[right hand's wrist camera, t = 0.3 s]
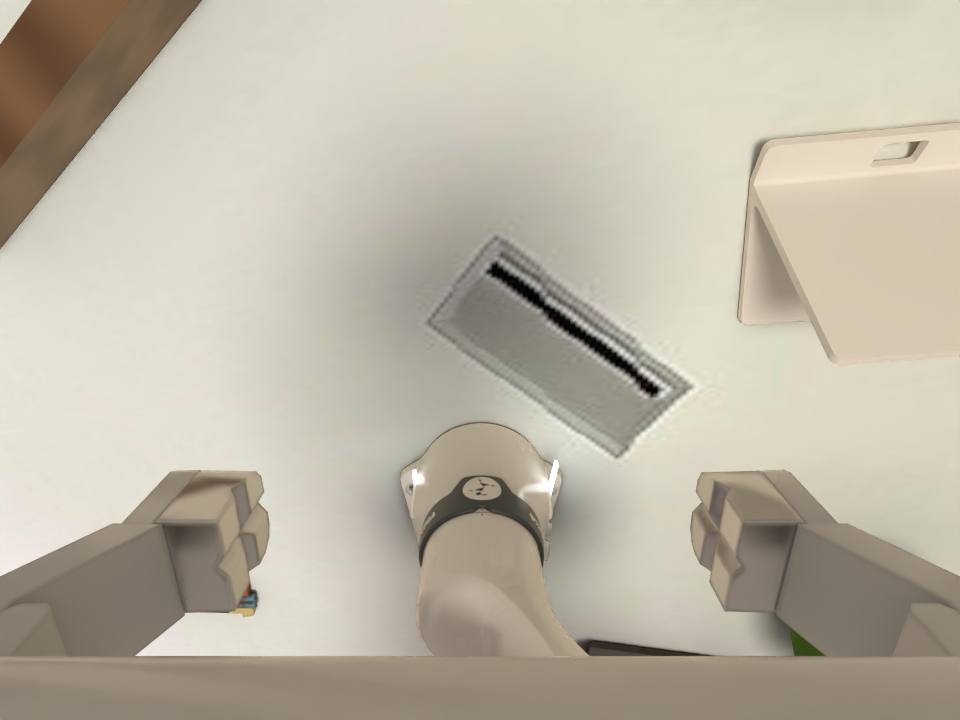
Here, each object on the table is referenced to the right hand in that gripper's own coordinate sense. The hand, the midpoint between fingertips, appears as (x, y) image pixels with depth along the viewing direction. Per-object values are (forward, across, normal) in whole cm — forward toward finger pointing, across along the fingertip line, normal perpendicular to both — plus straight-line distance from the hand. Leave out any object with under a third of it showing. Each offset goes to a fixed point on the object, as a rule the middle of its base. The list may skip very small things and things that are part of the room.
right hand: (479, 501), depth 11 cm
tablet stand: (+48, +39, -2) cm, 61 cm away
